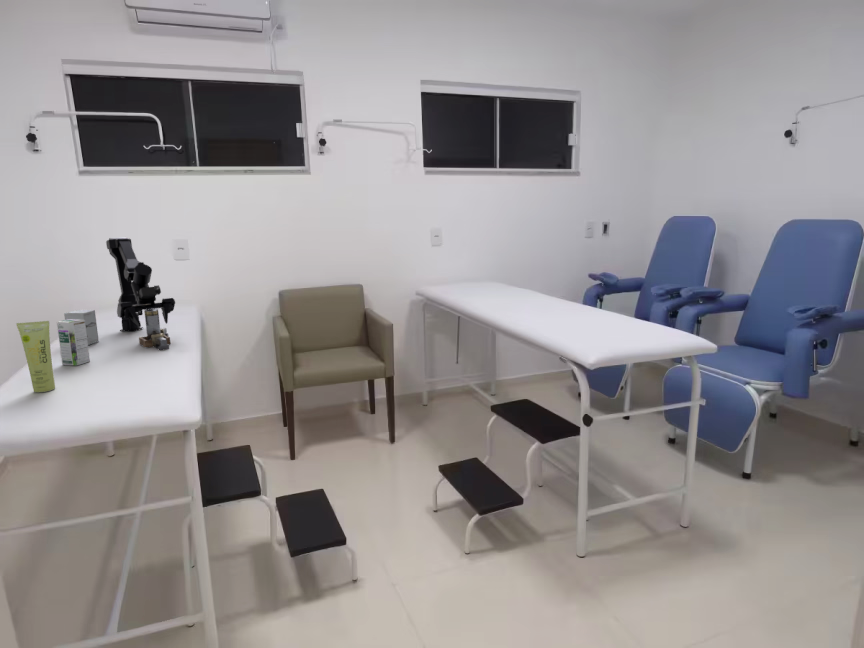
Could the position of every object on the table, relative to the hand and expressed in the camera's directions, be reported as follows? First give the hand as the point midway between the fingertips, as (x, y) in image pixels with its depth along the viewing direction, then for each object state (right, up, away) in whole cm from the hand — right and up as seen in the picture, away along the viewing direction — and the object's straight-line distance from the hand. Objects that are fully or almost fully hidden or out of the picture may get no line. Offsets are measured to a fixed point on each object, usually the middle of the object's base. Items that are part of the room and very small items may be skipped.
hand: (153, 324), depth 201 cm
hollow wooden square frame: (-1, -7, +2) cm, 8 cm away
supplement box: (-28, -8, +3) cm, 29 cm away
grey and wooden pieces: (+1, -7, +4) cm, 8 cm away
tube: (-4, -18, -52) cm, 55 cm away
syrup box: (-13, -13, -24) cm, 30 cm away
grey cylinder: (-1, -7, +2) cm, 8 cm away
